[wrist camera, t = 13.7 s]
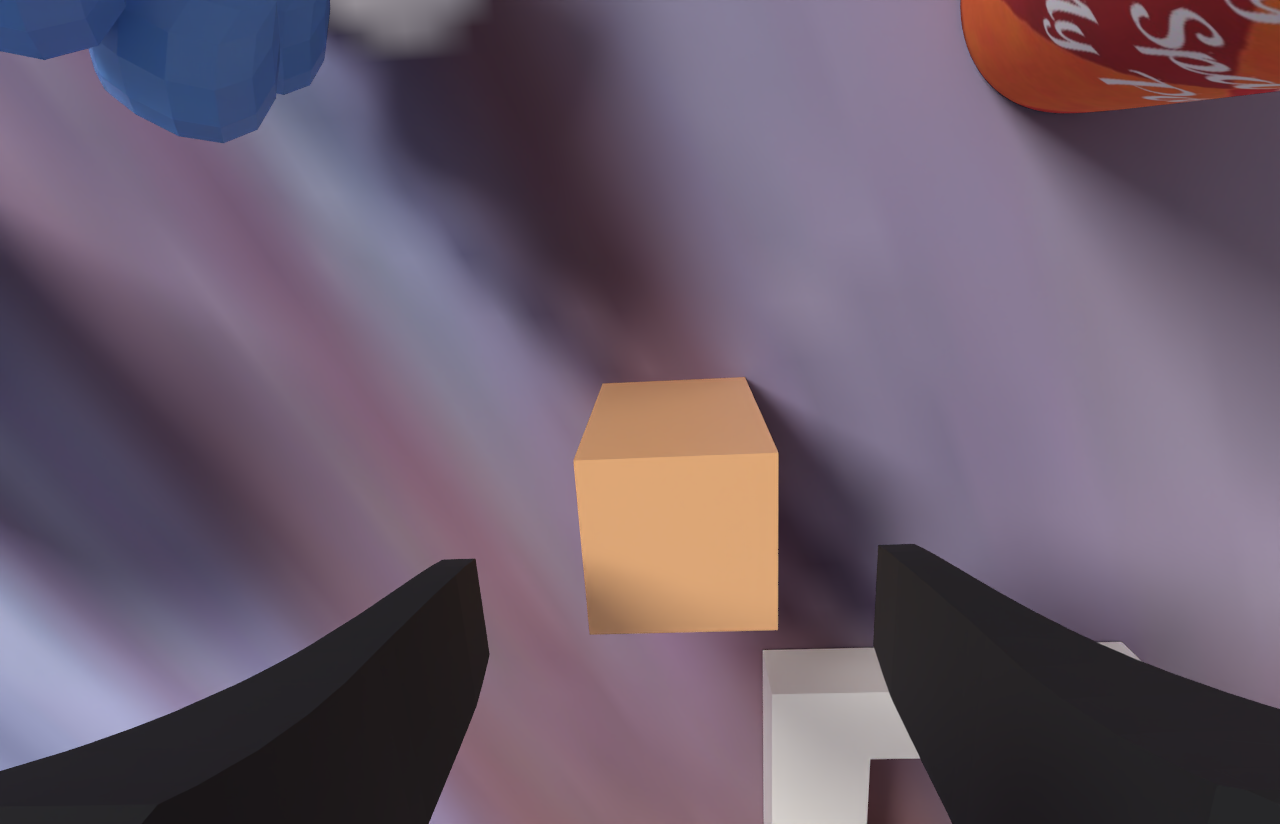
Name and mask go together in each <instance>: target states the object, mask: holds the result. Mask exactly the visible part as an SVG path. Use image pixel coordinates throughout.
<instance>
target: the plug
mask: <svg viewBox="0 0 1280 824" xmlns="http://www.w3.org/2000/svg"><path fill="white" fill-rule="evenodd" d="M574 471H575V482H576V493H577V503H578V514H579V525H580V536H581V546H582V557H583V568H584V578H585V589H586V600H587V611H588V621H589V632H590V634H632V633H675V632H718V631H760V630H778V451H777V448H776V446H775V444H774V442H773V439H772V437H771V435H770V433H769V430H768V428H767V426H766V424H765V421H764V419H763V417H762V415H761V412H760V410H759V408H758V406H757V403H756V401H755V399H754V397H753V394H752V392H751V390H750V388H749V385H748V383H747V381H746V379H745V377H738V378H716V379H694V380H672V381H650V382H628V383H606V384H602V387H601V390H600V392H599V395H598V397H597V400H596V403H595V405H594V408H593V411H592V413H591V416H590V419H589V421H588V424H587V426H586V429H585V432H584V434H583V437H582V440H581V442H580V445H579V447H578V450H577V453H576V455H575V458H574Z"/></svg>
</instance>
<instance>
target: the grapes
mask: <svg viewBox="0 0 1280 824" xmlns="http://www.w3.org/2000/svg"><path fill="white" fill-rule="evenodd" d="M329 15H330V0H0V51H3V52H8V53H13V54H18V55H23V56H28V57H33V58H38V59H43V60H46V59H50V58H53V57H57V56H61V55H65V54H69V53H72V52H76V51H80V50H84V49H88V48H89V52H90V55H91V59H92V62H93V66H94V69H95V72H96V74H97V76H98V77H99V79H100V81H101V83H102V85H103V87H104V89H105V90H106V91H107V92H108V93H109V94H111V95H112V96H113V97H114V98H116V99H117V100H118V101H120V102H121V103H122V104H123V105H125V106H126V107H127V108H128V109H130V110H131V111H132V112H134V113H135V114H136V115H138V116H140V117H142V118H144V119H146V120H148V121H150V122H152V123H154V124H156V125H158V126H160V127H162V128H164V129H166V130H168V131H170V132H172V133H174V134H176V135H178V136H181V137H188V138H194V139H201V140H207V141H213V142H220V143H225V142H228V141H230V140H233V139H235V138H238V137H240V136H243V135H245V134H247V133H250V132H252V131H255V130H257V129H258V128H259V126H260V124H261V123H262V121H263V119H264V118H265V116H266V114H267V112H268V111H269V109H270V107H271V106H272V104H273V102H274V101H275V99H276V93H278V94H283V95H285V94H287V93H290V92H293V91H295V90H298V89H301V88H303V87H306V86H309V85H310V84H311V82H312V81H313V79H314V77H315V75H316V74H317V72H318V70H319V68H320V67H321V65H322V63H323V61H324V57H325V49H326V40H327V32H328V24H329Z"/></svg>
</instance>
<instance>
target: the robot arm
mask: <svg viewBox="0 0 1280 824" xmlns="http://www.w3.org/2000/svg"><path fill="white" fill-rule="evenodd" d="M873 646H874V649H875V652H876V655H877V658H878V661H879V664H880V668H881V671H882V674H883V677H884V680H885V682H886V685H887V688H888V691H889V694H890V697H891V699H892V701H893V703H894V705H895V707H896V710H897V712H898V714H899V716H900V718H901V720H902V722H903V724H904V726H905V728H906V730H907V732H908V734H909V736H910V738H911V740H912V742H913V744H914V747H915V749H916V751H917V753H918V755H919V757H920V759H921V761H922V763H923V765H924V767H925V769H926V771H927V773H928V775H929V777H930V779H931V781H932V783H933V785H934V787H935V789H936V791H937V793H938V795H939V797H940V799H941V801H942V803H943V805H944V807H945V809H946V811H947V813H948V815H949V817H950V819H951V822H952V824H1280V709H1277V708H1274V707H1271V706H1267V705H1264V704H1261V703H1258V702H1255V701H1251V700H1248V699H1245V698H1242V697H1239V696H1236V695H1233V694H1229V693H1226V692H1223V691H1221V690H1218V689H1215V688H1212V687H1209V686H1206V685H1204V684H1201V683H1198V682H1195V681H1192V680H1190V679H1187V678H1184V677H1181V676H1178V675H1175V674H1173V673H1170V672H1167V671H1165V670H1162V669H1160V668H1157V667H1154V666H1152V665H1149V664H1147V663H1144V662H1142V661H1139V660H1137V659H1134V658H1132V657H1130V656H1128V655H1125V654H1123V653H1121V652H1118V651H1116V650H1114V649H1111V648H1109V647H1107V646H1104V645H1102V644H1100V643H1097V642H1095V641H1093V640H1091V639H1088V638H1086V637H1084V636H1082V635H1080V634H1078V633H1076V632H1073V631H1071V630H1069V629H1067V628H1065V627H1063V626H1061V625H1060V624H1058V623H1056V622H1054V621H1052V620H1050V619H1048V618H1046V617H1044V616H1042V615H1040V614H1038V613H1036V612H1034V611H1032V610H1030V609H1028V608H1027V607H1025V606H1023V605H1021V604H1019V603H1017V602H1016V601H1014V600H1012V599H1010V598H1008V597H1007V596H1005V595H1003V594H1001V593H1000V592H998V591H996V590H994V589H993V588H991V587H989V586H987V585H986V584H984V583H982V582H981V581H979V580H977V579H975V578H974V577H972V576H970V575H969V574H967V573H965V572H964V571H962V570H960V569H959V568H957V567H955V566H953V565H952V564H950V563H948V562H947V561H945V560H943V559H941V558H940V557H938V556H936V555H935V554H933V553H931V552H929V551H927V550H925V549H923V548H921V547H919V546H917V545H915V544H899V545H878V562H877V582H876V602H875V622H874V641H873ZM488 659H489V648H488V641H487V634H486V627H485V621H484V614H483V607H482V600H481V593H480V587H479V580H478V573H477V566H476V559H451V560H441V561H440V562H438V563H436V564H434V565H432V566H431V567H429V568H427V569H426V570H424V571H423V572H421V573H420V574H418V575H417V576H415V577H414V578H412V579H411V580H409V581H408V582H406V583H405V584H404V585H402V586H401V587H399V588H398V589H396V590H395V591H393V592H392V593H390V594H389V595H387V596H386V597H385V598H383V599H382V600H380V601H379V602H377V603H376V604H374V605H373V606H371V607H370V608H368V609H367V610H365V611H364V612H362V613H361V614H359V615H358V616H356V617H355V618H353V619H351V620H350V621H348V622H347V623H345V624H343V625H342V626H340V627H339V628H337V629H335V630H334V631H332V632H331V633H329V634H327V635H326V636H324V637H323V638H321V639H319V640H318V641H316V642H315V643H313V644H312V645H310V646H308V647H306V648H305V649H303V650H301V651H299V652H298V653H296V654H294V655H292V656H290V657H289V658H287V659H285V660H283V661H281V662H280V663H278V664H276V665H274V666H272V667H270V668H268V669H266V670H264V671H262V672H260V673H258V674H256V675H254V676H252V677H251V678H248V679H246V680H244V681H242V682H240V683H238V684H236V685H234V686H232V687H229V688H227V689H225V690H223V691H220V692H218V693H216V694H214V695H211V696H209V697H207V698H205V699H202V700H200V701H198V702H195V703H193V704H191V705H189V706H186V707H184V708H182V709H180V710H177V711H175V712H173V713H170V714H168V715H165V716H163V717H160V718H158V719H155V720H152V721H150V722H147V723H145V724H142V725H139V726H137V727H134V728H132V729H129V730H126V731H123V732H121V733H118V734H115V735H112V736H109V737H107V738H104V739H101V740H98V741H95V742H93V743H90V744H87V745H84V746H81V747H78V748H75V749H72V750H69V751H66V752H62V753H59V754H56V755H52V756H49V757H46V758H42V759H39V760H36V761H33V762H29V763H26V764H23V765H19V766H16V767H13V768H9V769H6V770H3V771H0V824H429V821H430V819H431V817H432V814H433V812H434V809H435V807H436V804H437V802H438V800H439V797H440V795H441V792H442V790H443V787H444V785H445V782H446V780H447V778H448V775H449V773H450V770H451V768H452V765H453V763H454V761H455V758H456V756H457V753H458V751H459V748H460V746H461V744H462V741H463V739H464V736H465V734H466V731H467V729H468V726H469V724H470V721H471V719H472V716H473V713H474V711H475V708H476V706H477V702H478V698H479V695H480V691H481V687H482V684H483V680H484V676H485V671H486V667H487V663H488Z"/></svg>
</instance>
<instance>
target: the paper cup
mask: <svg viewBox="0 0 1280 824" xmlns="http://www.w3.org/2000/svg"><path fill="white" fill-rule="evenodd" d="M960 9H961V22H962V29H963V33H964V38H965V41H966V44H967V47H968V50H969V53H970V55H971V57H972V59H973V61H974V63H975V65H976V66H977V68H978V70H979V71H980V73H981V74H982V75H983V77H984V78H985V79H986V80H987V82H988V83H989V84H990V85H991V86H992V87H993V88H994V89H995V90H997V91H998V92H999V93H1000V94H1002V95H1003V96H1005V97H1006V98H1008V99H1009V100H1011V101H1013V102H1015V103H1017V104H1019V105H1021V106H1024V107H1027V108H1030V109H1033V110H1038V111H1043V112H1050V113H1086V112H1098V111H1109V110H1121V109H1130V108H1139V107H1147V106H1156V105H1165V104H1174V103H1183V102H1192V101H1200V100H1208V99H1217V98H1225V97H1233V96H1242V95H1250V94H1258V93H1267V92H1275V91H1280V0H961V3H960Z"/></svg>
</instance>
